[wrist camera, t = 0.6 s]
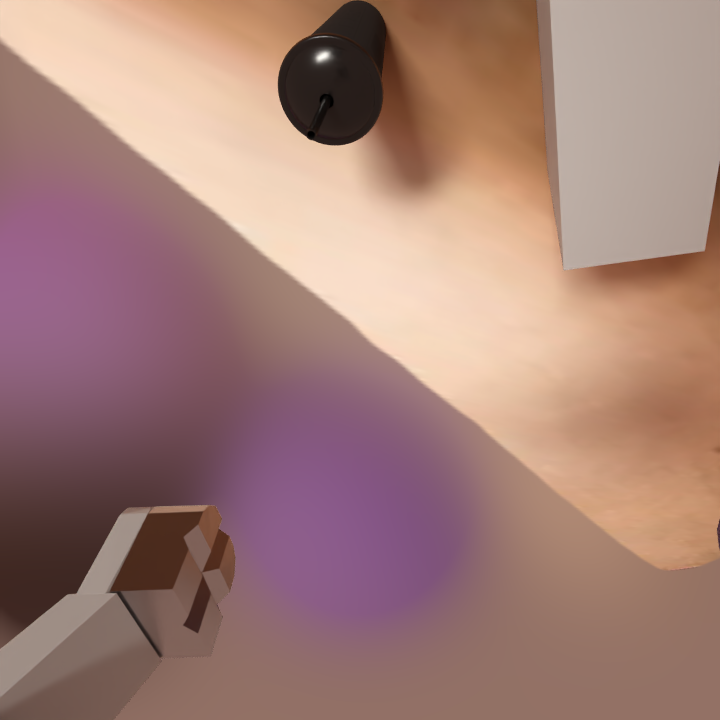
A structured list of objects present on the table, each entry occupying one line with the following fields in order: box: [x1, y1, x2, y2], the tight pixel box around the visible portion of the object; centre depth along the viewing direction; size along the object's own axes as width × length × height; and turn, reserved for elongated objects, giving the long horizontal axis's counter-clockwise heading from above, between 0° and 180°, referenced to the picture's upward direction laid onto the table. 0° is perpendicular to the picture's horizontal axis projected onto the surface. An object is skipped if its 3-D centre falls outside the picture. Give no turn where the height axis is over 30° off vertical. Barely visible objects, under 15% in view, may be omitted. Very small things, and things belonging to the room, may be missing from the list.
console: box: [536, 0, 720, 270], centre depth 40 cm, size 11×24×16 cm, turn 17°
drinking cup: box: [278, 1, 386, 145], centre depth 41 cm, size 8×8×20 cm
